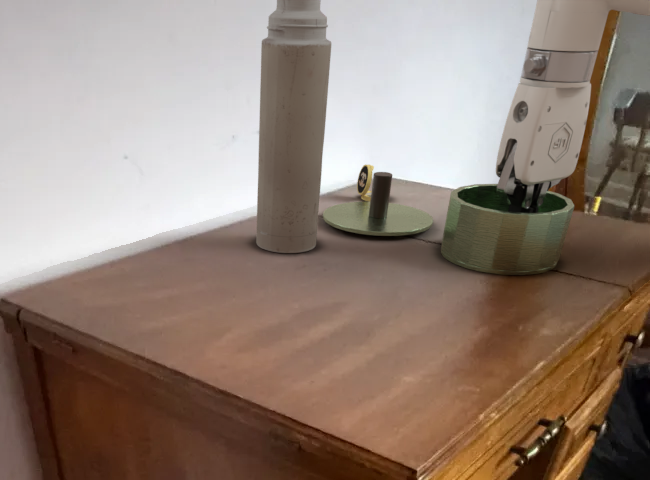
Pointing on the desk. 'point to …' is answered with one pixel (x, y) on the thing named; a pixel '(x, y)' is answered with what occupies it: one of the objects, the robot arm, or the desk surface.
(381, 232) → the lid
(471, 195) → the tin
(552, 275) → the desk surface
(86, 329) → the desk surface
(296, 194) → the thermos bottle
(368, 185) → the eyeshadow
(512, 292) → the desk surface
